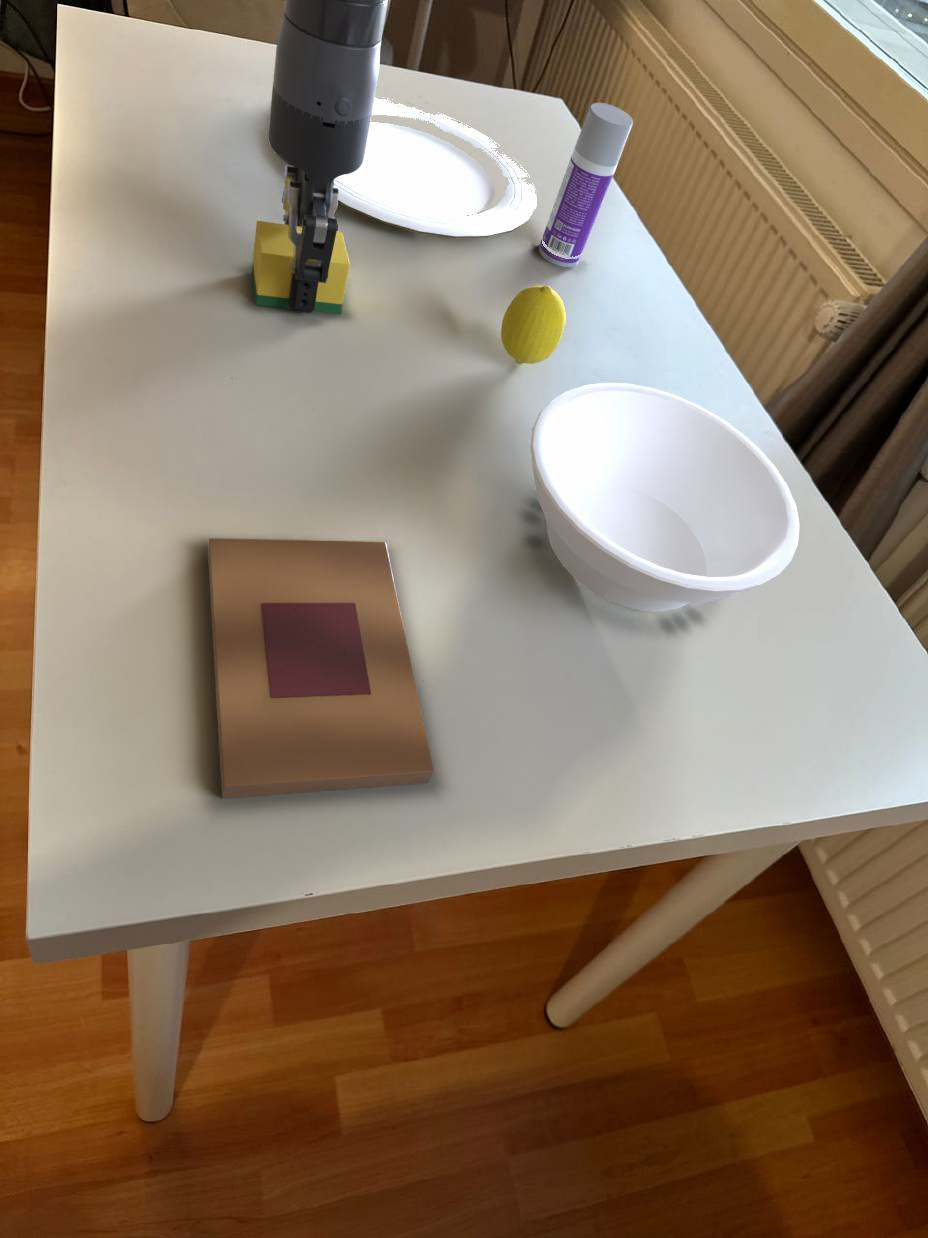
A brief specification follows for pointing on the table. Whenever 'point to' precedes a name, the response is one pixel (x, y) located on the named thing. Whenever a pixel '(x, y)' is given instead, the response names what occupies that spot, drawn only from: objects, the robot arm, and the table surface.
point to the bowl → (658, 498)
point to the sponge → (276, 269)
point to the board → (312, 669)
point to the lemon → (533, 324)
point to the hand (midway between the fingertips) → (297, 287)
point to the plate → (433, 180)
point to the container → (585, 183)
